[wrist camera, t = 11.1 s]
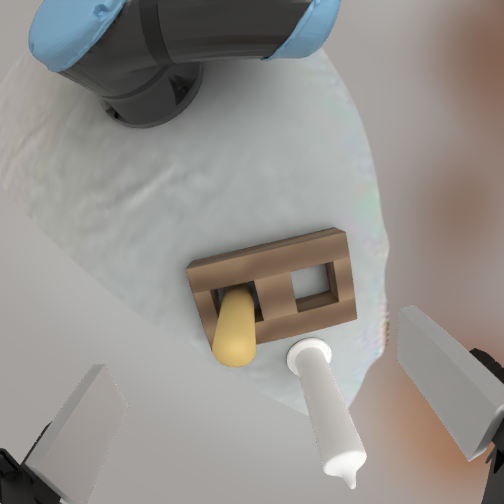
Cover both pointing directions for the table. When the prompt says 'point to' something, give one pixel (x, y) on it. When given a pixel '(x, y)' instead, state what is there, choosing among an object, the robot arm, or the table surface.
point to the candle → (327, 410)
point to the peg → (236, 327)
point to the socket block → (279, 284)
